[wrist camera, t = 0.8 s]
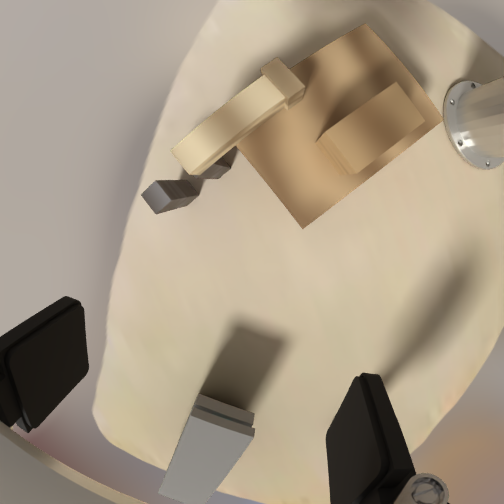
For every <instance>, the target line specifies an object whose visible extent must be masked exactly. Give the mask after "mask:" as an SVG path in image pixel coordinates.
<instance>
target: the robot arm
mask: <svg viewBox="0 0 504 504" xmlns="http://www.w3.org/2000/svg"><path fill="white" fill-rule="evenodd" d="M443 115H444V123H445V127H446V131H447V133H448V136H449V139H450V141H451V143H452V144H453V146H454V148H455V150H456V151H457V152H458V154H459V155H460V156H461V157H462V158H463V159H464V160H465V161H466V162H467V163H469V164H470V165H471V166H474V167H476V168H479V169H493V168H496V167H498V166H499V165H501V164H502V163H503V162H504V77H502V78H499V79H497V80H494V81H492V82H489V83H487V84H484V85H482V84H480V83H477V82H474V81H462V82H459V83H457V84H456V85H454V86H453V87H451V89H450V90H449V91H448V93H447V95H446V98H445V102H444V111H443ZM88 370H89V363H88V354H87V345H86V331H85V316H84V308H83V307H82V306H81V303H80V301H78V300H76V299H73V298H70V297H67V296H65V297H63V298H61V299H59V300H58V301H56V302H54V303H53V304H51V305H49V306H48V307H46V308H45V309H43V310H42V311H40V312H38V313H37V314H35V315H34V316H32V317H30V318H29V319H27V320H26V321H24V322H22V323H21V324H19V325H18V326H16V327H15V328H13V329H11V330H10V331H8V332H7V333H5V334H4V335H2V336H1V337H0V504H148V503H146V502H143V501H140V500H138V499H135V498H133V497H130V496H128V495H125V494H123V493H121V492H118V491H116V490H114V489H111V488H109V487H107V486H105V485H102V484H100V483H99V482H96V481H94V480H92V479H90V478H88V477H87V476H85V475H82V474H81V473H79V472H77V471H75V470H73V469H71V468H70V467H68V466H66V465H64V464H63V463H61V462H59V461H58V460H56V459H54V458H53V457H51V456H49V455H48V454H46V453H45V452H43V451H42V450H40V449H39V448H37V447H35V446H34V445H32V444H31V443H30V442H28V441H27V440H25V439H24V438H23V437H21V436H20V435H18V434H17V433H16V432H14V431H13V425H14V423H16V424H17V425H18V426H19V427H20V428H21V429H23V430H25V431H26V432H27V433H29V432H30V431H31V430H32V429H33V428H37V427H38V426H39V425H40V424H41V423H42V422H43V421H44V420H45V419H46V417H47V416H48V415H49V414H50V413H51V412H52V411H53V410H54V409H55V408H56V407H57V405H58V404H59V403H60V402H61V401H62V400H63V399H64V398H65V397H66V396H67V395H68V394H69V393H70V392H71V390H72V389H73V388H74V387H75V386H76V385H77V384H78V383H79V382H80V381H81V380H82V379H83V378H84V377H85V376H86V374H87V372H88ZM326 449H327V460H328V473H329V487H330V502H331V504H449V503H448V498H449V492H448V488H447V486H446V484H445V483H444V482H443V481H442V480H441V479H440V478H439V477H437V476H435V475H432V474H428V473H421V474H417V475H416V472H415V469H414V466H413V463H412V460H411V457H410V454H409V451H408V448H407V445H406V442H405V439H404V436H403V434H402V431H401V428H400V425H399V422H398V420H397V418H396V416H395V413H394V410H393V408H392V405H391V402H390V400H389V397H388V395H387V392H386V390H385V387H384V384H383V382H382V379H381V377H380V375H378V374H369V373H362V374H361V375H360V376H359V377H358V376H356V377H355V378H354V380H353V382H352V384H351V386H350V388H349V390H348V392H347V394H346V396H345V398H344V400H343V402H342V404H341V406H340V408H339V410H338V412H337V414H336V416H335V418H334V420H333V422H332V423H331V425H330V427H329V429H328V431H327V434H326Z"/></svg>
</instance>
